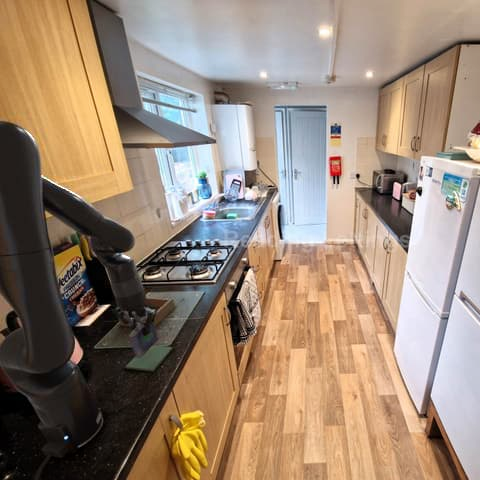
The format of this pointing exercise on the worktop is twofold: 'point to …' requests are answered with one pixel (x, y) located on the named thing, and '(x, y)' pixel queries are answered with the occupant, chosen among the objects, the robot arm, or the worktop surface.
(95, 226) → the robot arm
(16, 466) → the worktop surface
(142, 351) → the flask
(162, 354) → the mat
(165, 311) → the brown wooden tray
